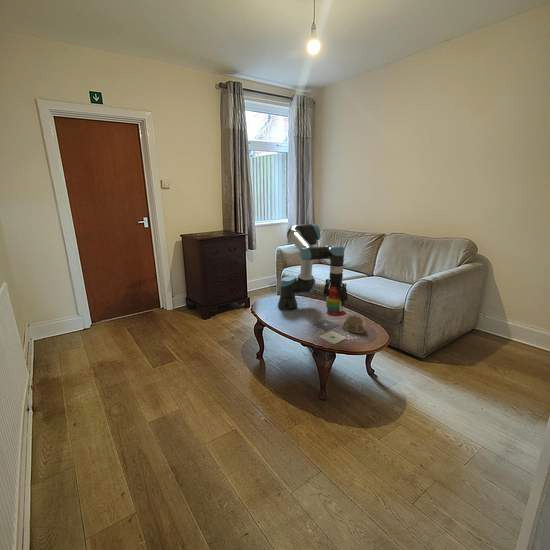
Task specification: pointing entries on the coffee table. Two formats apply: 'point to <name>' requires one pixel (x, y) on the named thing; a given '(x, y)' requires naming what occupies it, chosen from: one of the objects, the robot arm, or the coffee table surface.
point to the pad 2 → (332, 337)
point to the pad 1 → (325, 324)
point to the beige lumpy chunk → (353, 324)
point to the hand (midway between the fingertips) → (334, 308)
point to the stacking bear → (334, 303)
